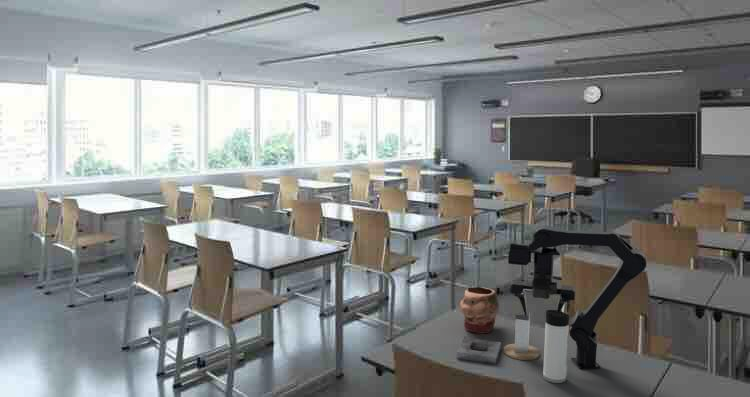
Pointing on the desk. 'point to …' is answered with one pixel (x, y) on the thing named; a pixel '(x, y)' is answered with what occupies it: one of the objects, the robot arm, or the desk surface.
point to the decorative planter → (479, 309)
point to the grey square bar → (522, 332)
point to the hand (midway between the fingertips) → (541, 316)
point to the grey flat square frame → (487, 357)
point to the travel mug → (556, 346)
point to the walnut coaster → (532, 353)
